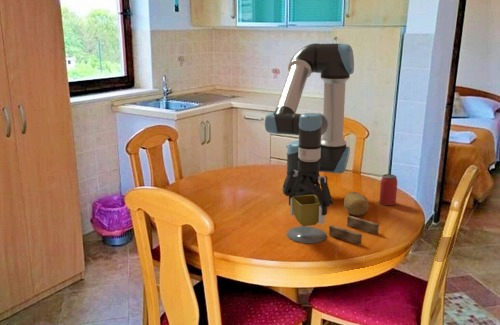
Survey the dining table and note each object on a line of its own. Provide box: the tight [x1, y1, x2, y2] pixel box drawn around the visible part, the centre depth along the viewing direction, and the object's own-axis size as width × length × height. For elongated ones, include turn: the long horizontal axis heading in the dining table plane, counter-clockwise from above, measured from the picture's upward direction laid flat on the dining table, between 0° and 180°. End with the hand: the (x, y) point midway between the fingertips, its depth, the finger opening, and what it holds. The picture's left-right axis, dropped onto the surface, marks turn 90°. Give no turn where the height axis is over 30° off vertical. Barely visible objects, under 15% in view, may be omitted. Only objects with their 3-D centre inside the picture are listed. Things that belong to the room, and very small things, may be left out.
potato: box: [343, 191, 370, 216], centre depth 195 cm, size 10×14×8 cm
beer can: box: [379, 173, 398, 207], centre depth 205 cm, size 7×7×12 cm
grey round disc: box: [286, 225, 327, 245], centre depth 176 cm, size 14×14×1 cm
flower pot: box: [292, 194, 321, 227], centre depth 173 cm, size 9×9×9 cm
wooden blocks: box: [328, 215, 380, 246], centre depth 176 cm, size 12×14×4 cm
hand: (307, 218), depth 174 cm, fingers closed on flower pot, 12 cm apart
